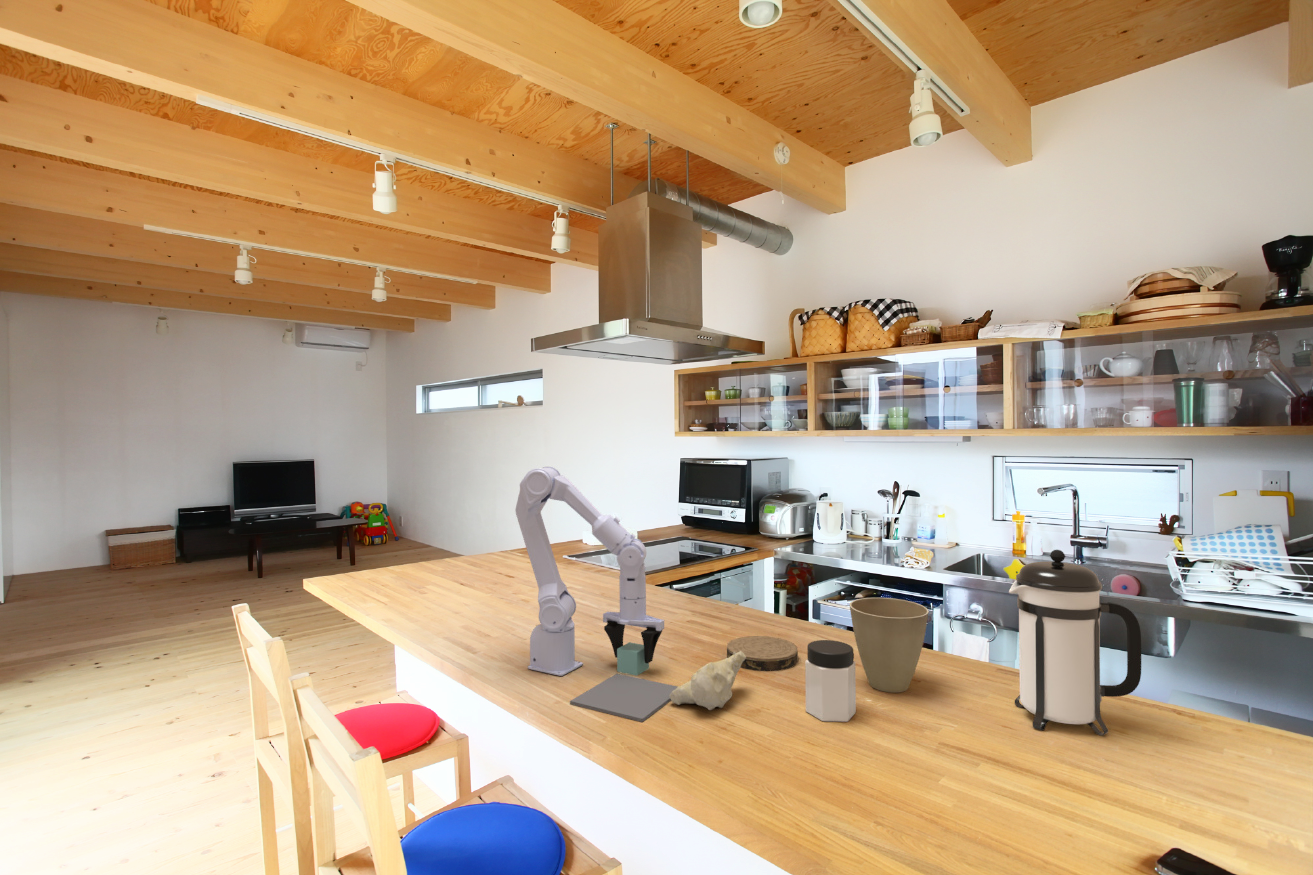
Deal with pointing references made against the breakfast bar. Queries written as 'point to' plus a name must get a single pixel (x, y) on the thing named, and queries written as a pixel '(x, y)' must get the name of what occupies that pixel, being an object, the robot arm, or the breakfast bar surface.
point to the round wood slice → (764, 653)
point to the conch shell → (710, 683)
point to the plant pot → (889, 640)
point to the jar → (830, 681)
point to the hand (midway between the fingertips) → (633, 659)
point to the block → (631, 659)
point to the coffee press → (1067, 644)
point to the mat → (626, 697)
